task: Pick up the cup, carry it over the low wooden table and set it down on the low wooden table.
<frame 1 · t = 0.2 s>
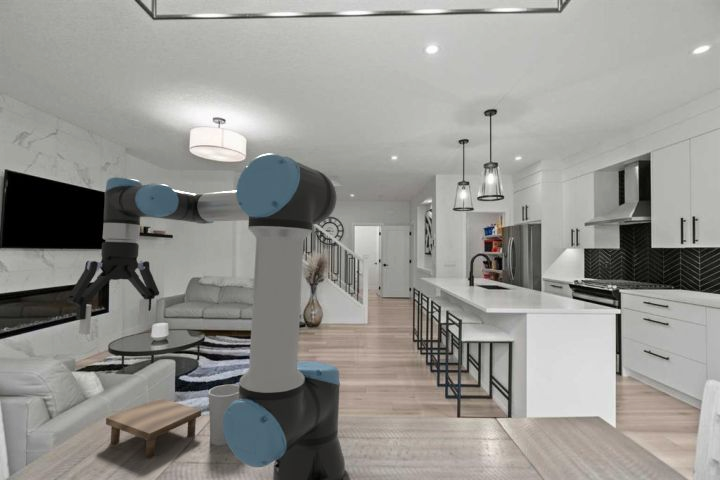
hand: (115, 328, 86), 28 cm above the table, fingers open, 13 cm apart
low wooden table: (154, 438, 88), on the table
cup: (223, 439, 89), on the table
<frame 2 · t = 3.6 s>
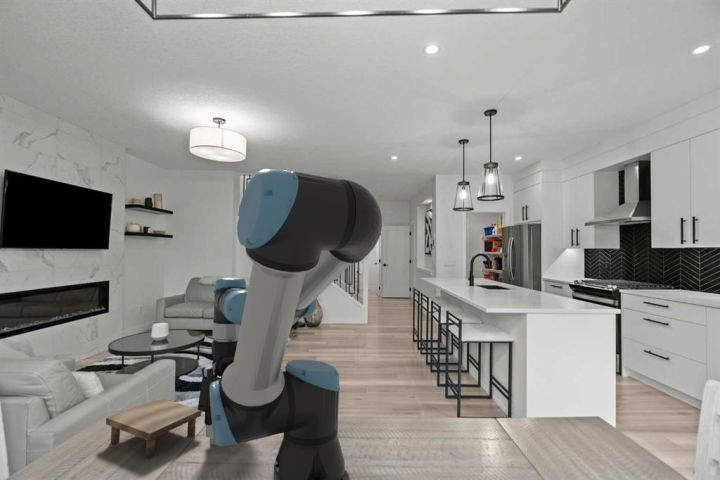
hand: (223, 429, 90), 2 cm above the table, fingers closed on cup, 7 cm apart
cup: (223, 439, 89), on the table, touching gripper
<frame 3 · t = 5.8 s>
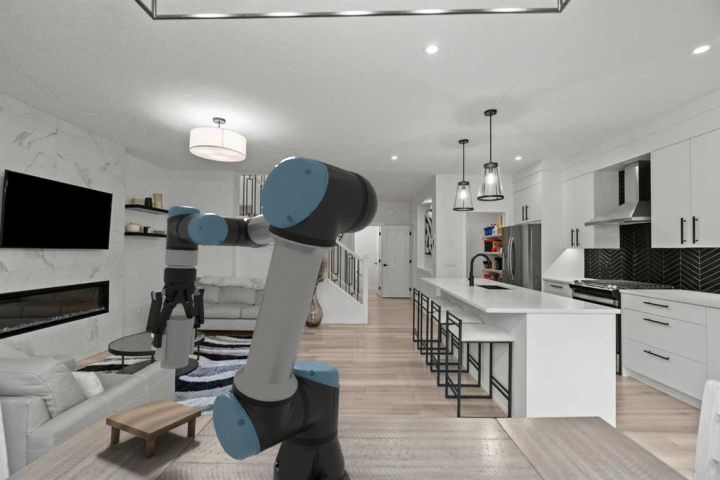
hand: (175, 356, 90), 20 cm above the table, fingers closed on cup, 7 cm apart
cup: (174, 365, 90), point 18 cm above the table, touching gripper
when the fingers open (8 cm above the table, at t = 8.0 s): cup stays where it is, resting on low wooden table.
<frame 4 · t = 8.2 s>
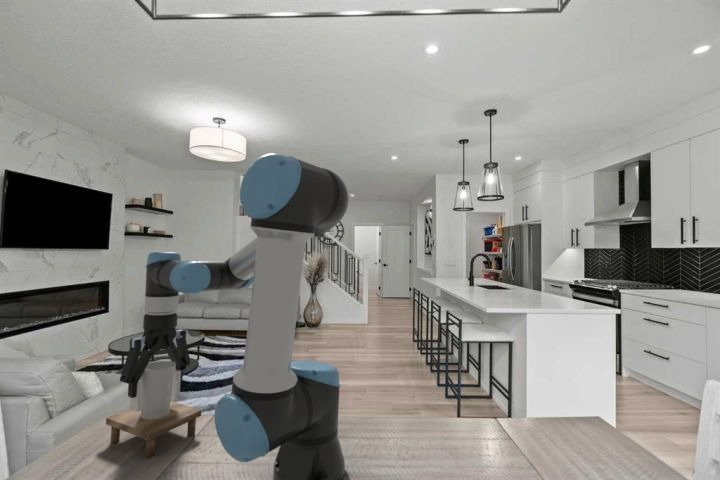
hand: (156, 402, 89), 9 cm above the table, fingers open, 10 cm apart
cup: (155, 414, 89), point 6 cm above the table, touching low wooden table
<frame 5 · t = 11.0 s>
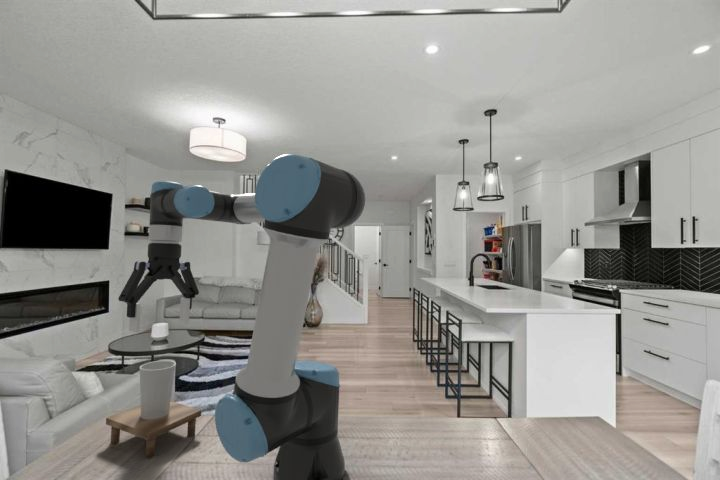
hand: (160, 326, 90), 28 cm above the table, fingers open, 13 cm apart
nothing on the table moved.
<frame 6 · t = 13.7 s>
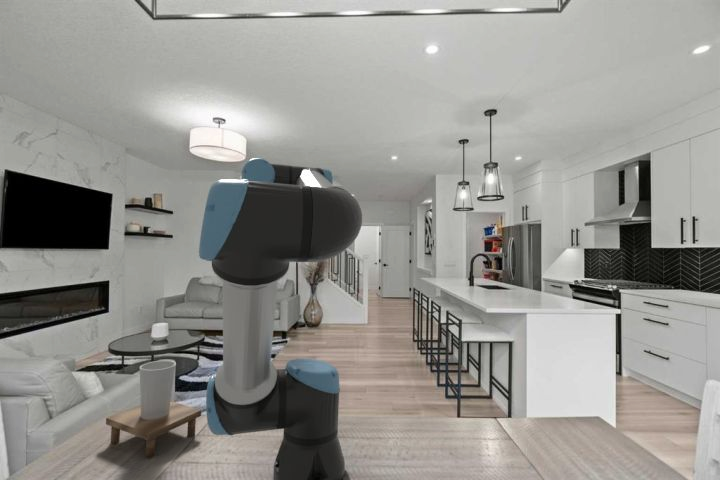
hand: (252, 298, 96), 35 cm above the table, fingers open, 13 cm apart
nothing on the table moved.
at the end: cup inside the target area on the low wooden table (0.0 cm from its centre), point 5.8 cm above the low wooden table's base; cup tilted 0°; the gripper is holding nothing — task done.
